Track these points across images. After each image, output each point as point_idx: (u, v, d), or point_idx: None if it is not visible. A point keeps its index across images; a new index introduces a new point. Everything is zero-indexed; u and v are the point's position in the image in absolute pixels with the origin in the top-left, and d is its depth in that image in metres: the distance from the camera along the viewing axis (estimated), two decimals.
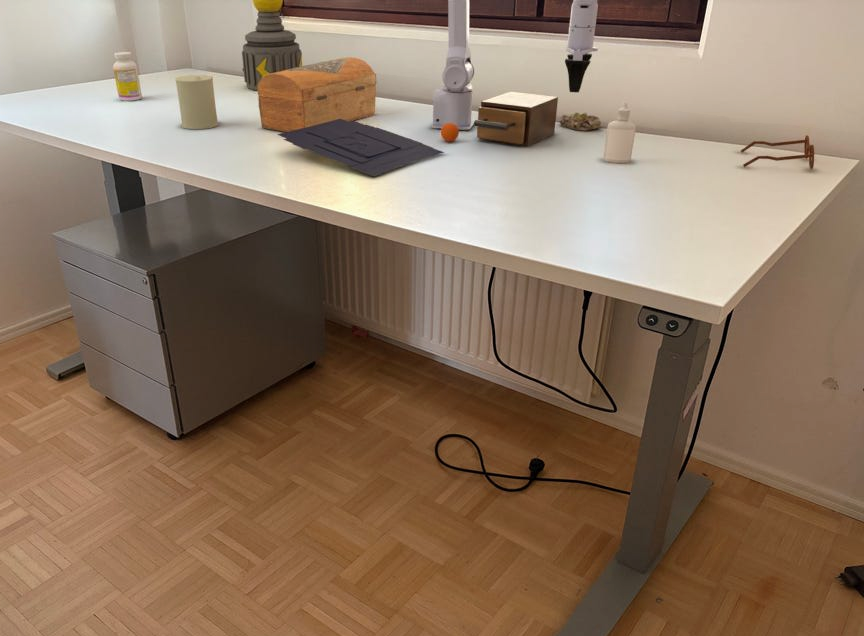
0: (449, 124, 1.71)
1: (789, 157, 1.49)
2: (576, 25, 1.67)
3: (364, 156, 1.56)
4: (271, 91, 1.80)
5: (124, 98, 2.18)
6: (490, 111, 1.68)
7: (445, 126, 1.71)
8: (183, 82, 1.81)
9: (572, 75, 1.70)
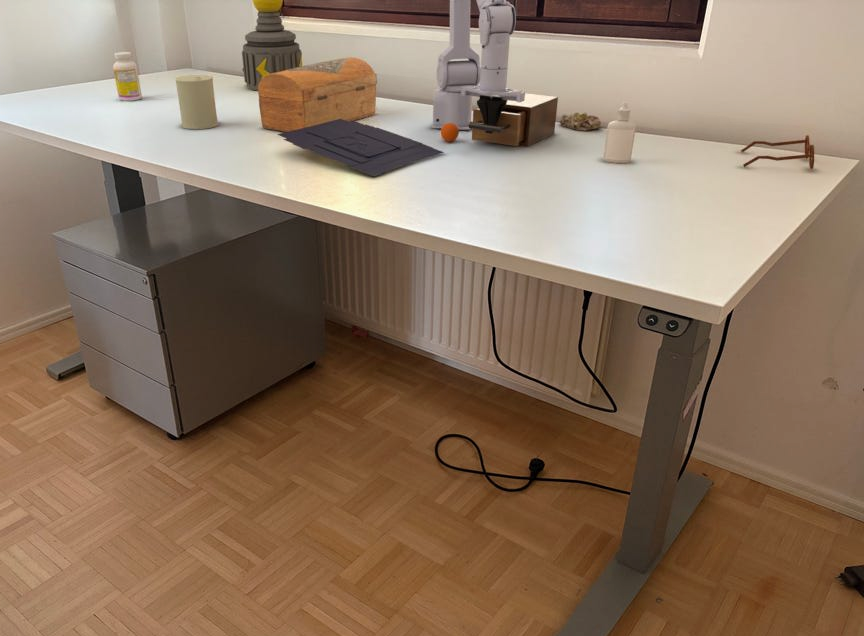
0: (449, 124, 1.71)
1: (789, 157, 1.49)
2: None
3: (364, 156, 1.56)
4: (271, 91, 1.80)
5: (124, 98, 2.18)
6: None
7: (445, 126, 1.71)
8: (183, 82, 1.81)
9: None
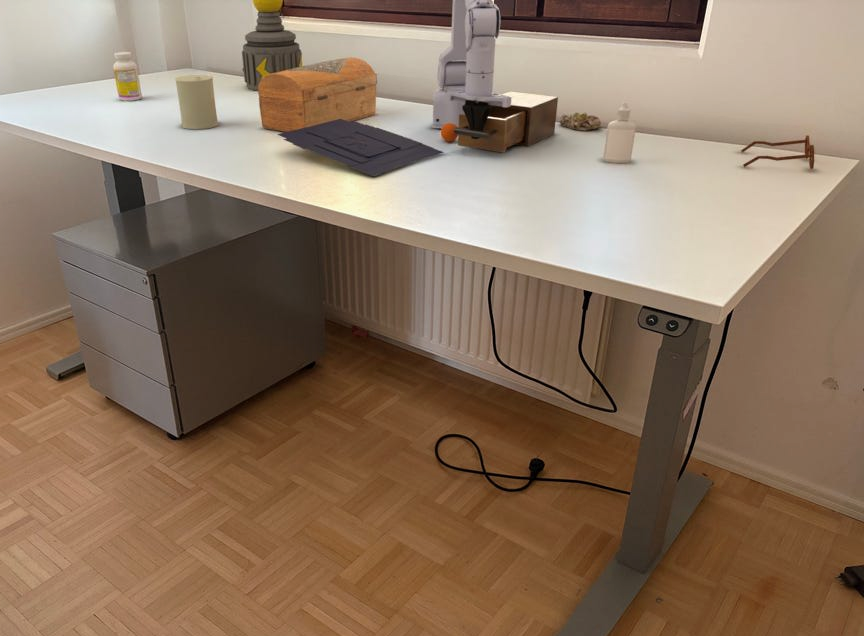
0: (449, 124, 1.71)
1: (789, 157, 1.49)
2: None
3: (364, 156, 1.56)
4: (271, 91, 1.80)
5: (124, 98, 2.18)
6: None
7: (445, 126, 1.71)
8: (183, 82, 1.81)
9: None
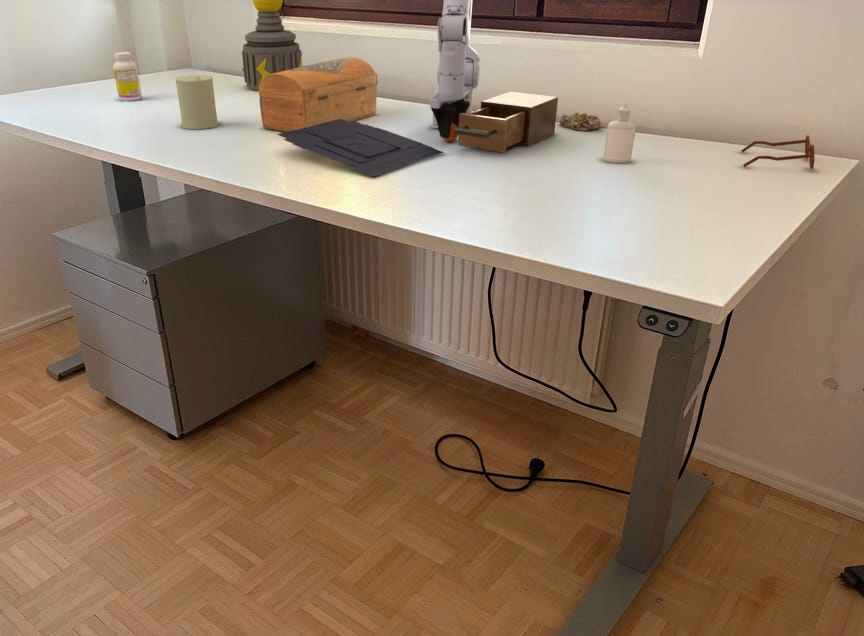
0: None
1: (789, 157, 1.49)
2: None
3: (364, 156, 1.56)
4: (272, 91, 1.80)
5: (124, 98, 2.18)
6: (471, 118, 1.62)
7: None
8: (183, 82, 1.81)
9: None
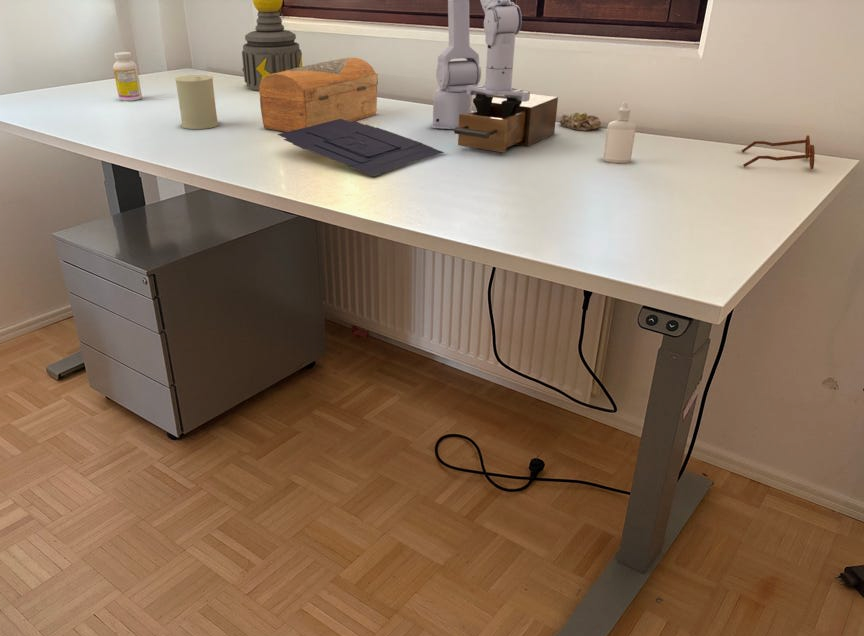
0: None
1: (789, 157, 1.49)
2: None
3: (364, 156, 1.56)
4: (272, 92, 1.79)
5: (124, 98, 2.18)
6: (471, 118, 1.62)
7: None
8: (183, 82, 1.81)
9: None
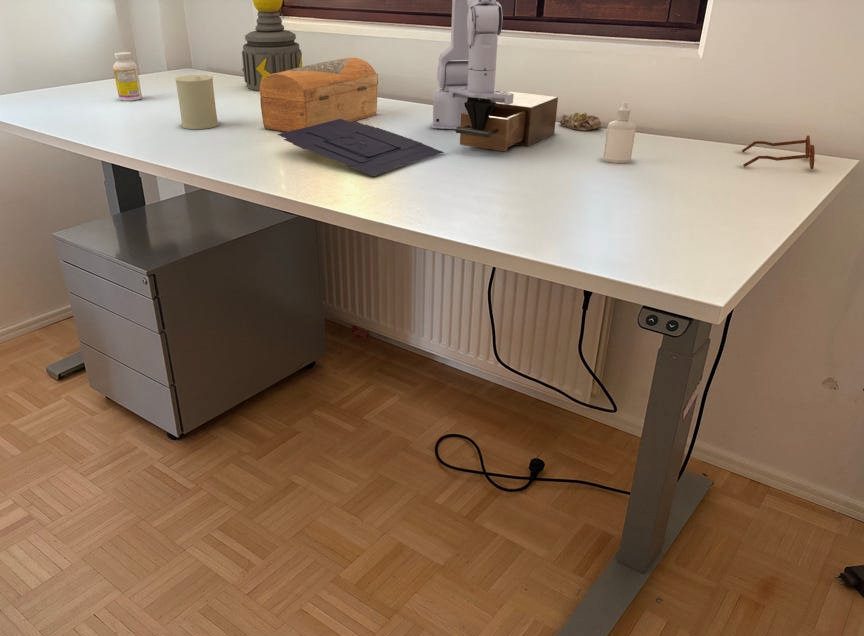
0: None
1: (789, 157, 1.49)
2: None
3: (364, 156, 1.56)
4: (273, 92, 1.79)
5: (124, 98, 2.18)
6: None
7: None
8: (183, 82, 1.81)
9: None
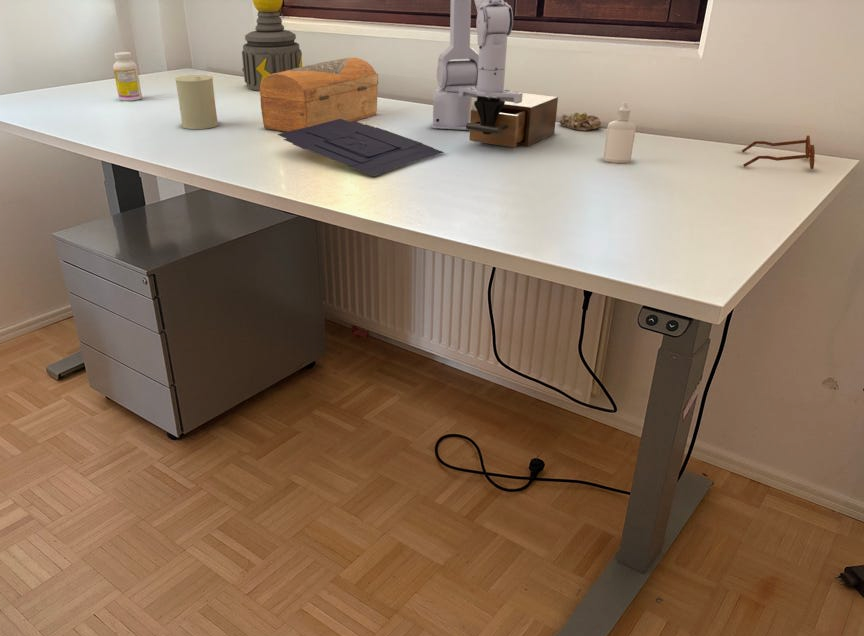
0: None
1: (789, 157, 1.49)
2: None
3: (364, 156, 1.56)
4: (273, 92, 1.79)
5: (124, 98, 2.18)
6: None
7: None
8: (183, 82, 1.81)
9: None
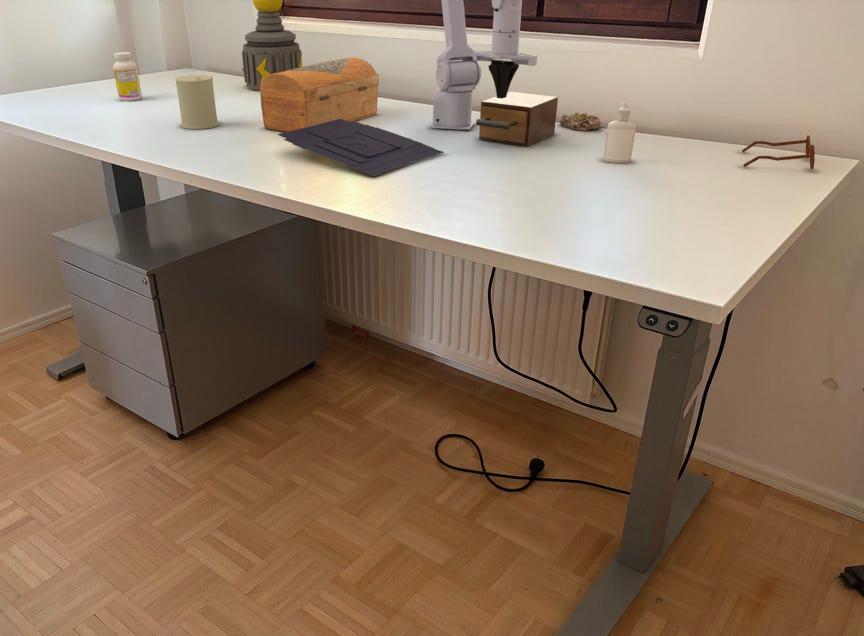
0: None
1: (789, 157, 1.49)
2: None
3: (364, 156, 1.56)
4: (273, 92, 1.79)
5: (124, 98, 2.18)
6: (492, 110, 1.69)
7: None
8: (183, 82, 1.81)
9: None
